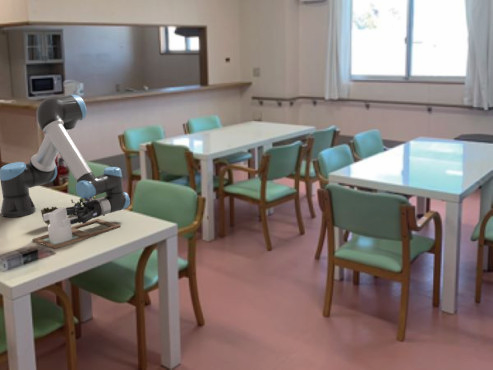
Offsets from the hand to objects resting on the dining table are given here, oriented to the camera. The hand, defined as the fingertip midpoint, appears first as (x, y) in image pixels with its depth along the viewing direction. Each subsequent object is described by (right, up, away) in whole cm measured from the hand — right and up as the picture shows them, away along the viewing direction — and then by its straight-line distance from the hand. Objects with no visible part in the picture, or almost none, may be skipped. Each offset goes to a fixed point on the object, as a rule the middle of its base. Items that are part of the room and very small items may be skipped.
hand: (52, 220), depth 230 cm
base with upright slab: (+2, -8, +4) cm, 9 cm away
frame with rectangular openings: (+7, -6, +10) cm, 14 cm away
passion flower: (+2, +2, +41) cm, 41 cm away
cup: (-7, -4, +21) cm, 22 cm away
